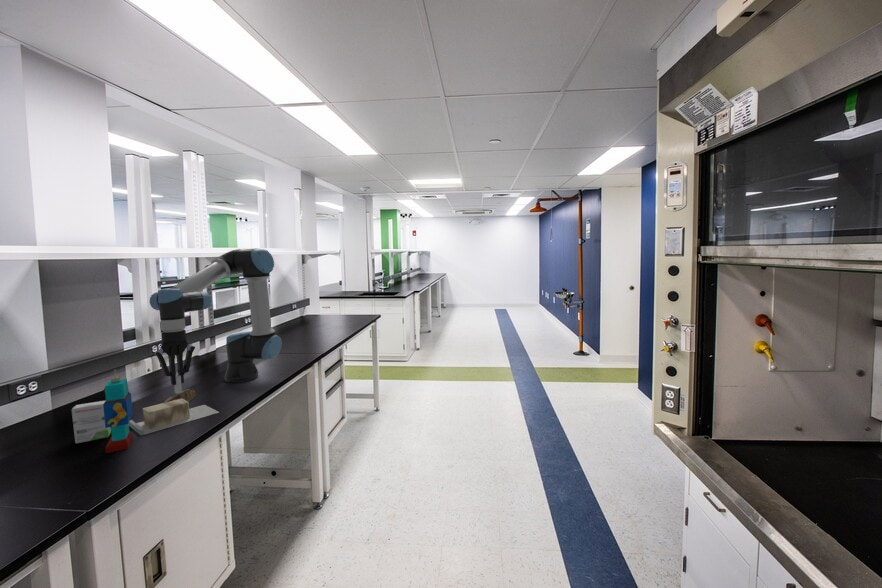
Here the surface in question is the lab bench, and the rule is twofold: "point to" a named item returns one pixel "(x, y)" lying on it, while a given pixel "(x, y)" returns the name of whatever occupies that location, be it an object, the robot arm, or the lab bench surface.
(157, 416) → the block
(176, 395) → the rock
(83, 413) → the ink box
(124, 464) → the lab bench surface
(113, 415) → the toy robot
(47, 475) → the lab bench surface
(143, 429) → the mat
